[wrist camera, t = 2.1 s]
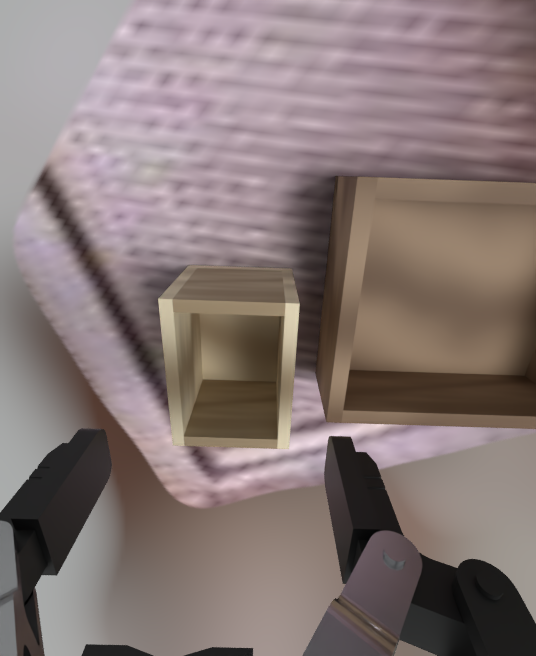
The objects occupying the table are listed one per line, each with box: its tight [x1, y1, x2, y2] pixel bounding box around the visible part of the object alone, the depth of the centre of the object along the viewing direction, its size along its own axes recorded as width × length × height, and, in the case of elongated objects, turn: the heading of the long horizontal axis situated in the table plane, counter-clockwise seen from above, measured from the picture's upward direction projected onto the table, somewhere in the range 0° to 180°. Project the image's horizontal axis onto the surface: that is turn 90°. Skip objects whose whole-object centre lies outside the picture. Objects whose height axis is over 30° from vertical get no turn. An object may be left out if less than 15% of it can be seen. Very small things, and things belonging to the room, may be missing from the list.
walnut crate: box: [315, 176, 536, 429], centre depth 18 cm, size 12×14×5 cm
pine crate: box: [158, 265, 300, 449], centre depth 19 cm, size 8×6×6 cm
